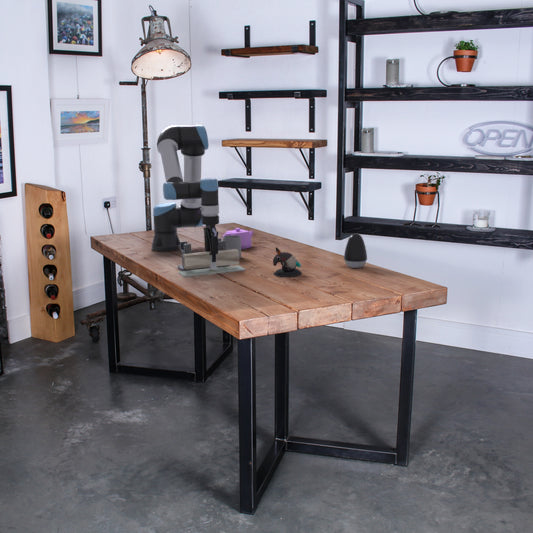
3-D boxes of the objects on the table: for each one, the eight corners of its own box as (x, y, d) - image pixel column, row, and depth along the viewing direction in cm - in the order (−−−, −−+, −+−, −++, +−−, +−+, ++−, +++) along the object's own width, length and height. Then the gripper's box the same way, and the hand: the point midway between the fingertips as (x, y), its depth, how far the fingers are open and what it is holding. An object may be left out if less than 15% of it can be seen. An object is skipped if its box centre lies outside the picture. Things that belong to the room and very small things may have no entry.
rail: (183, 267, 277) (183, 253, 276) (236, 262, 286) (235, 249, 285) (186, 269, 274) (185, 255, 272) (239, 264, 283) (238, 250, 281)
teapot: (248, 243, 341) (247, 224, 339) (258, 247, 333) (258, 227, 330) (218, 248, 331) (218, 228, 329) (229, 251, 323) (228, 231, 320)
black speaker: (368, 265, 289) (369, 231, 286) (364, 270, 280) (365, 236, 276) (346, 263, 293) (347, 230, 289) (341, 268, 283) (342, 234, 280)
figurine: (303, 276, 270) (302, 249, 268) (275, 278, 269) (274, 251, 266) (298, 270, 281) (297, 244, 279) (271, 272, 280) (270, 246, 277)
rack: (177, 268, 288) (176, 241, 285) (224, 263, 296) (223, 237, 293) (182, 271, 281) (181, 245, 278) (229, 266, 289) (229, 240, 286)
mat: (178, 272, 279) (178, 271, 279) (238, 266, 289) (238, 265, 289) (183, 276, 272) (183, 275, 272) (245, 270, 282) (245, 269, 282)
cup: (238, 259, 304) (238, 238, 302) (221, 258, 306) (221, 238, 303) (242, 255, 312) (242, 235, 310) (226, 255, 314) (225, 235, 311)
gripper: (196, 212, 281) (198, 264, 287) (207, 218, 266) (209, 272, 271) (212, 211, 284) (214, 262, 289) (224, 217, 269) (226, 271, 274)
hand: (211, 267), depth 280 cm, fingers closed on rail, 4 cm apart
